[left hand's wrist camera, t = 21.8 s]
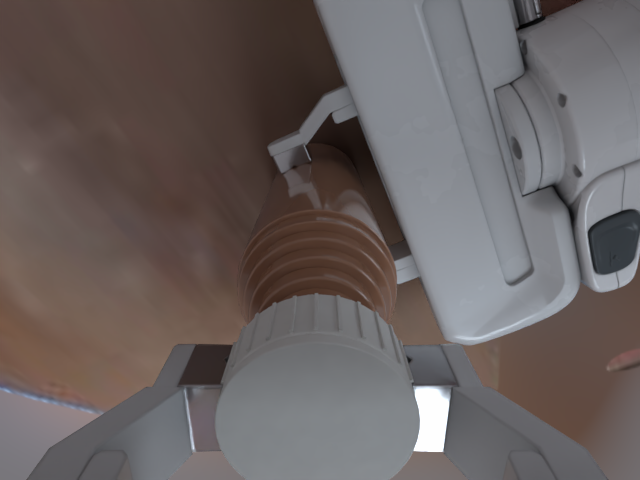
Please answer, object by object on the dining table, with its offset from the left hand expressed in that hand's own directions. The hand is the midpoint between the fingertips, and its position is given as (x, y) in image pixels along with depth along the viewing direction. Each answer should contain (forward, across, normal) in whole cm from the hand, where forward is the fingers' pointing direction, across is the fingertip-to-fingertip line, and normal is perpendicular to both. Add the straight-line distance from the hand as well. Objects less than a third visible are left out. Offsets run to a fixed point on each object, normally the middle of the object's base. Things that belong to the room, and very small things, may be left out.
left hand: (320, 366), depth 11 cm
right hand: (+13, -1, 0) cm, 13 cm away
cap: (-2, 0, 0) cm, 2 cm away
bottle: (+18, 0, 0) cm, 18 cm away
